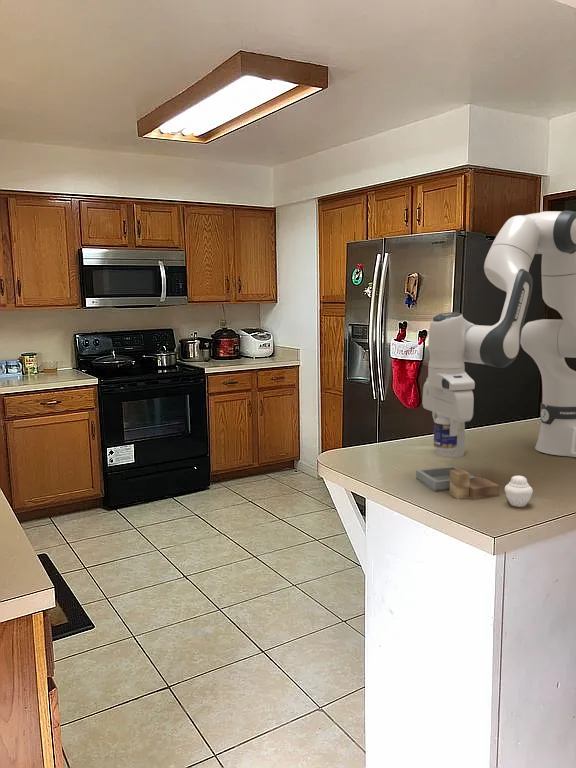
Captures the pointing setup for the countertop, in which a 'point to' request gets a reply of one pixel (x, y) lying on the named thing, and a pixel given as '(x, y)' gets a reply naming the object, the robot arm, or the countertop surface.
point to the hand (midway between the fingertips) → (445, 432)
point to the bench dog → (459, 483)
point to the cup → (460, 444)
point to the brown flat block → (482, 488)
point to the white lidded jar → (518, 491)
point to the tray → (436, 478)
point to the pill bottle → (443, 434)
